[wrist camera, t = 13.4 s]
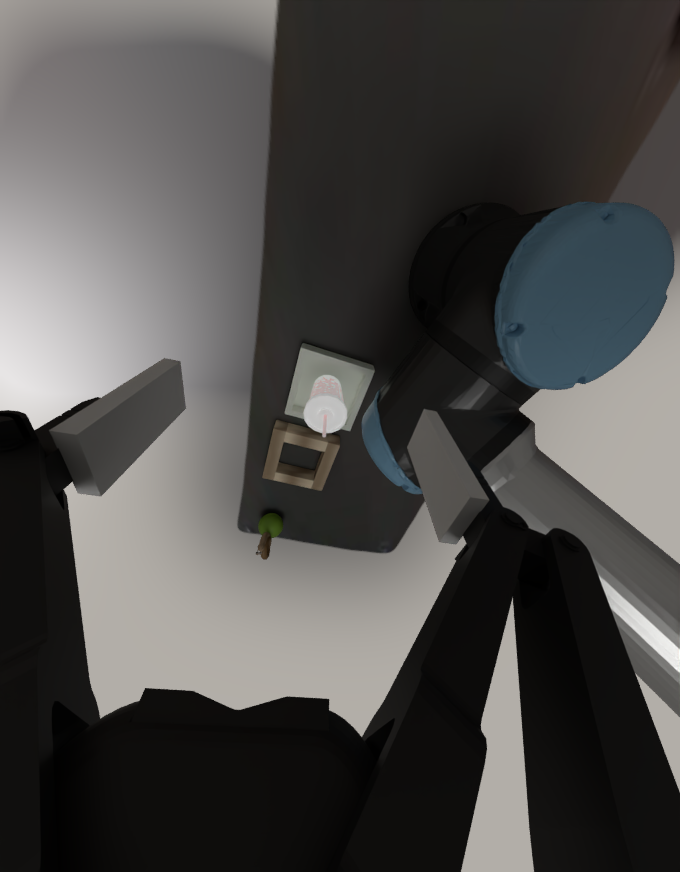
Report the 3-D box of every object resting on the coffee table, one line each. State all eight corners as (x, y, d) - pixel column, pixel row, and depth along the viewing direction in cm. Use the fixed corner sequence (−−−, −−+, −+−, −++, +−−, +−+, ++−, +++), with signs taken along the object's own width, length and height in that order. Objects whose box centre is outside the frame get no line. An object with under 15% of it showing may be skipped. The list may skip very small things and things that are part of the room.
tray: (373, 365, 44) (374, 371, 42) (349, 423, 50) (349, 431, 48) (302, 342, 42) (300, 347, 40) (286, 406, 48) (284, 413, 46)
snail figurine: (282, 504, 62) (272, 553, 53) (286, 523, 66) (277, 571, 56) (258, 505, 62) (244, 553, 53) (263, 523, 66) (250, 571, 56)
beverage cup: (301, 384, 45) (288, 431, 34) (330, 362, 43) (328, 405, 32) (324, 410, 48) (320, 462, 36) (353, 391, 46) (358, 440, 34)
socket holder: (339, 436, 52) (339, 445, 49) (322, 480, 58) (321, 490, 56) (276, 419, 50) (273, 428, 47) (265, 467, 56) (262, 477, 54)
